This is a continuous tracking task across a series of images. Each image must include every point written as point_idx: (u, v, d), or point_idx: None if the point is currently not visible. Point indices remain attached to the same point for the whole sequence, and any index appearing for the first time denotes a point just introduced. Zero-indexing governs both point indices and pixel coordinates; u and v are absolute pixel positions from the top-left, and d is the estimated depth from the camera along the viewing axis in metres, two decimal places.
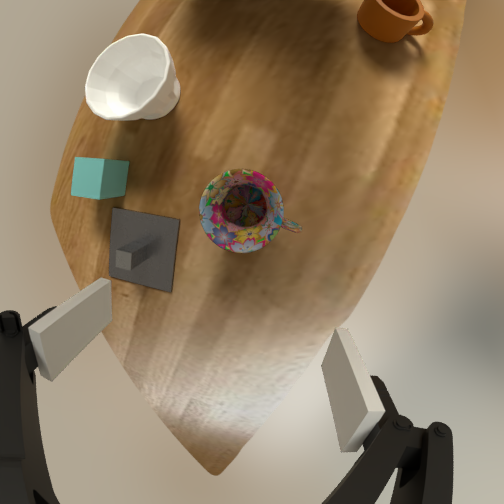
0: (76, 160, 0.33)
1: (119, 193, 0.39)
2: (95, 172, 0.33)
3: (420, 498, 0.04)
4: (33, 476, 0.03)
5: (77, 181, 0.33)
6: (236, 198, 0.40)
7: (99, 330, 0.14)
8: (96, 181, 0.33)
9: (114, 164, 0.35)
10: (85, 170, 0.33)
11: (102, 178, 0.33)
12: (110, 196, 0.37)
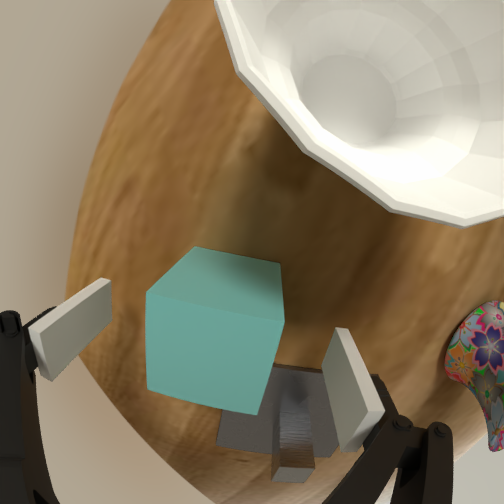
0: (153, 304, 0.11)
1: None
2: (243, 355, 0.11)
3: (420, 498, 0.04)
4: (34, 476, 0.03)
5: (167, 365, 0.12)
6: None
7: (99, 330, 0.14)
8: (247, 378, 0.11)
9: None
10: (196, 343, 0.11)
11: None
12: None
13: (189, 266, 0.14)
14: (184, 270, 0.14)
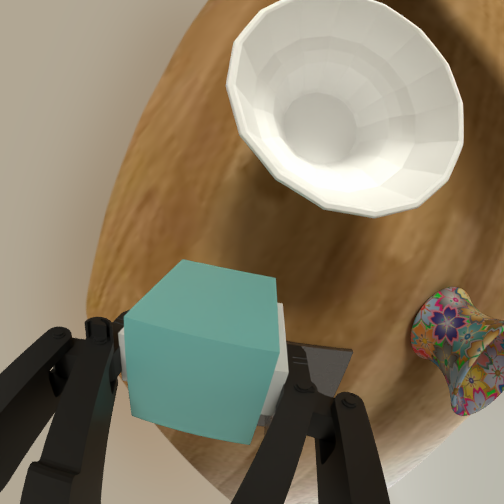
0: (131, 329, 0.09)
1: None
2: (233, 386, 0.09)
3: (345, 475, 0.06)
4: (83, 490, 0.04)
5: (151, 393, 0.10)
6: None
7: None
8: (238, 409, 0.10)
9: None
10: (181, 372, 0.09)
11: None
12: None
13: (174, 283, 0.13)
14: (168, 288, 0.12)
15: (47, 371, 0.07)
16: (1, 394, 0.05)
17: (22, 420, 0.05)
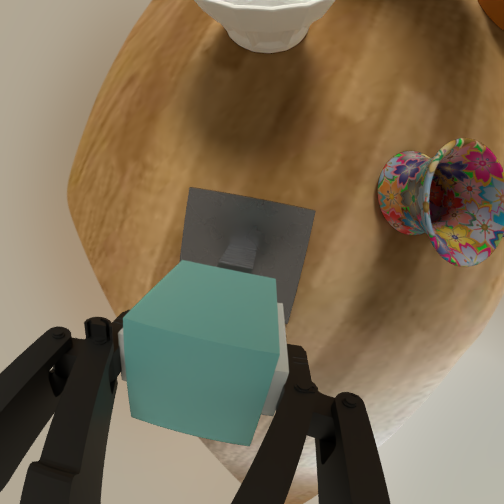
0: (131, 331, 0.09)
1: None
2: (233, 388, 0.09)
3: (345, 475, 0.06)
4: (83, 490, 0.04)
5: (150, 394, 0.10)
6: None
7: None
8: (238, 410, 0.10)
9: None
10: (180, 374, 0.09)
11: None
12: None
13: (174, 284, 0.13)
14: (168, 289, 0.12)
15: (46, 371, 0.07)
16: (1, 394, 0.05)
17: (22, 420, 0.05)
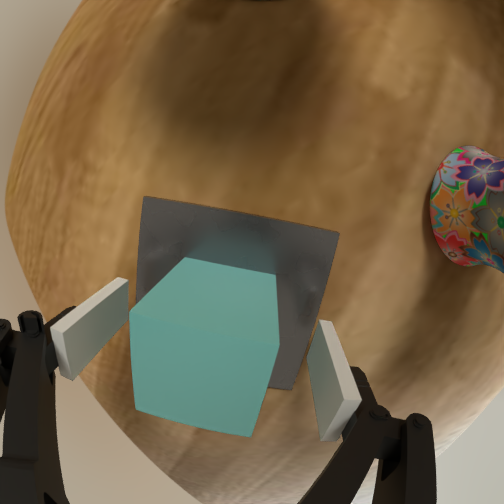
0: (137, 324, 0.10)
1: None
2: (235, 379, 0.10)
3: (403, 491, 0.05)
4: (45, 478, 0.04)
5: (155, 386, 0.10)
6: None
7: (116, 329, 0.14)
8: (240, 401, 0.10)
9: None
10: (185, 365, 0.10)
11: None
12: None
13: (178, 280, 0.13)
14: (172, 285, 0.13)
15: None
16: None
17: None
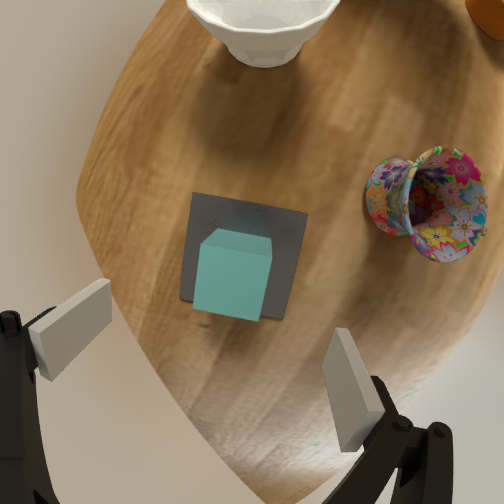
0: (204, 250, 0.22)
1: None
2: (251, 278, 0.22)
3: (420, 498, 0.04)
4: (34, 476, 0.03)
5: (208, 288, 0.22)
6: None
7: (99, 330, 0.14)
8: (253, 293, 0.22)
9: None
10: (226, 271, 0.22)
11: None
12: None
13: (218, 236, 0.25)
14: (216, 237, 0.25)
15: None
16: None
17: None
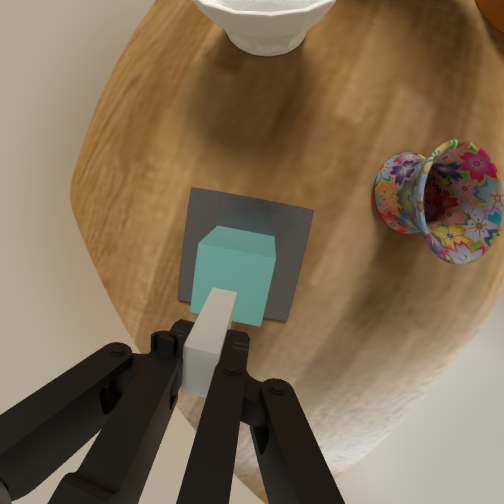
0: (201, 250, 0.20)
1: None
2: (253, 280, 0.20)
3: (284, 467, 0.06)
4: None
5: (206, 290, 0.21)
6: None
7: None
8: (255, 296, 0.21)
9: None
10: (226, 273, 0.20)
11: None
12: None
13: (218, 234, 0.24)
14: (215, 236, 0.23)
15: (98, 390, 0.08)
16: (41, 408, 0.05)
17: (61, 436, 0.06)
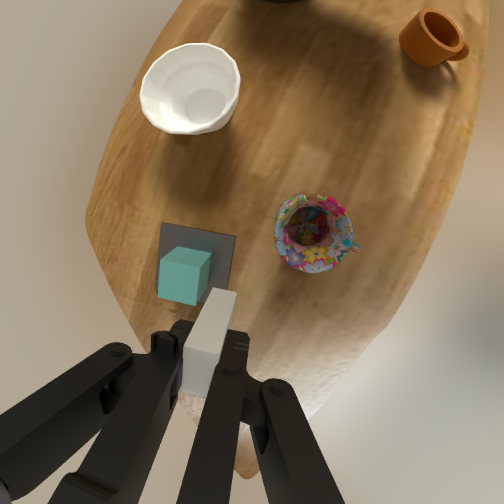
0: (162, 263, 0.36)
1: (204, 287, 0.43)
2: (189, 279, 0.36)
3: (284, 467, 0.06)
4: None
5: (165, 285, 0.37)
6: (293, 216, 0.41)
7: None
8: (191, 288, 0.37)
9: (204, 265, 0.39)
10: (175, 275, 0.36)
11: (198, 286, 0.37)
12: (200, 296, 0.40)
13: (174, 253, 0.40)
14: (172, 254, 0.39)
15: (98, 390, 0.08)
16: (41, 408, 0.05)
17: (61, 436, 0.06)
